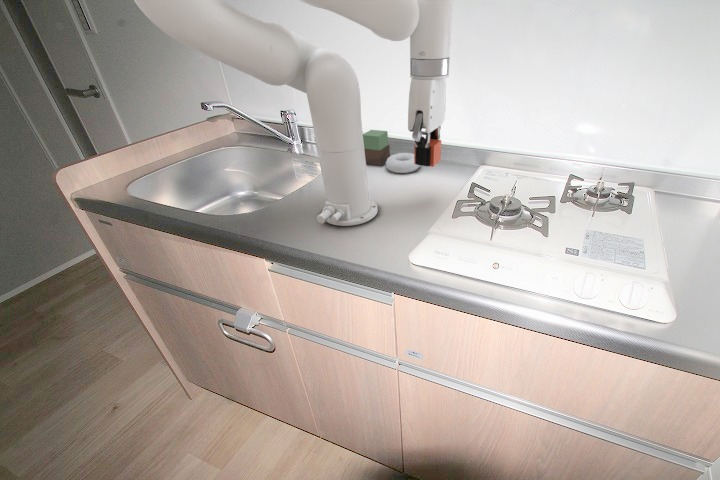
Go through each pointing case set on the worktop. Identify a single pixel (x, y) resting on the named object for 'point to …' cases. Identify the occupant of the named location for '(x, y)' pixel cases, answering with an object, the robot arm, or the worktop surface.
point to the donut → (401, 163)
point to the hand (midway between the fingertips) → (427, 160)
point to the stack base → (377, 156)
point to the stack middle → (375, 139)
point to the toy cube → (432, 152)
